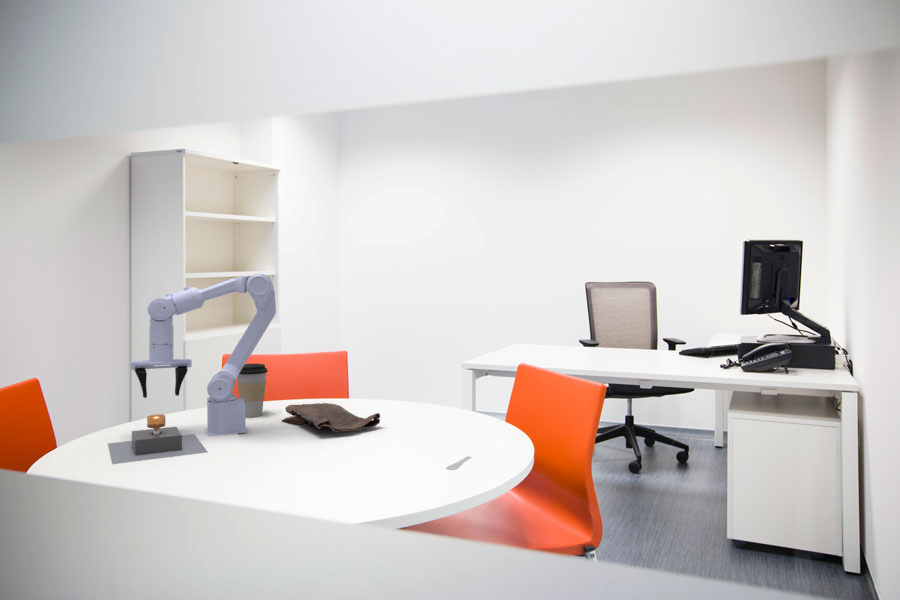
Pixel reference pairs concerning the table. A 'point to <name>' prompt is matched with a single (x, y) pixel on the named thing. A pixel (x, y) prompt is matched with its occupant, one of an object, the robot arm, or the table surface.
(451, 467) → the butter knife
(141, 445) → the block
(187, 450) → the board
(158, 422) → the plunger
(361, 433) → the table surface
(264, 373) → the coffee cup
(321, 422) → the folded brown cloth
